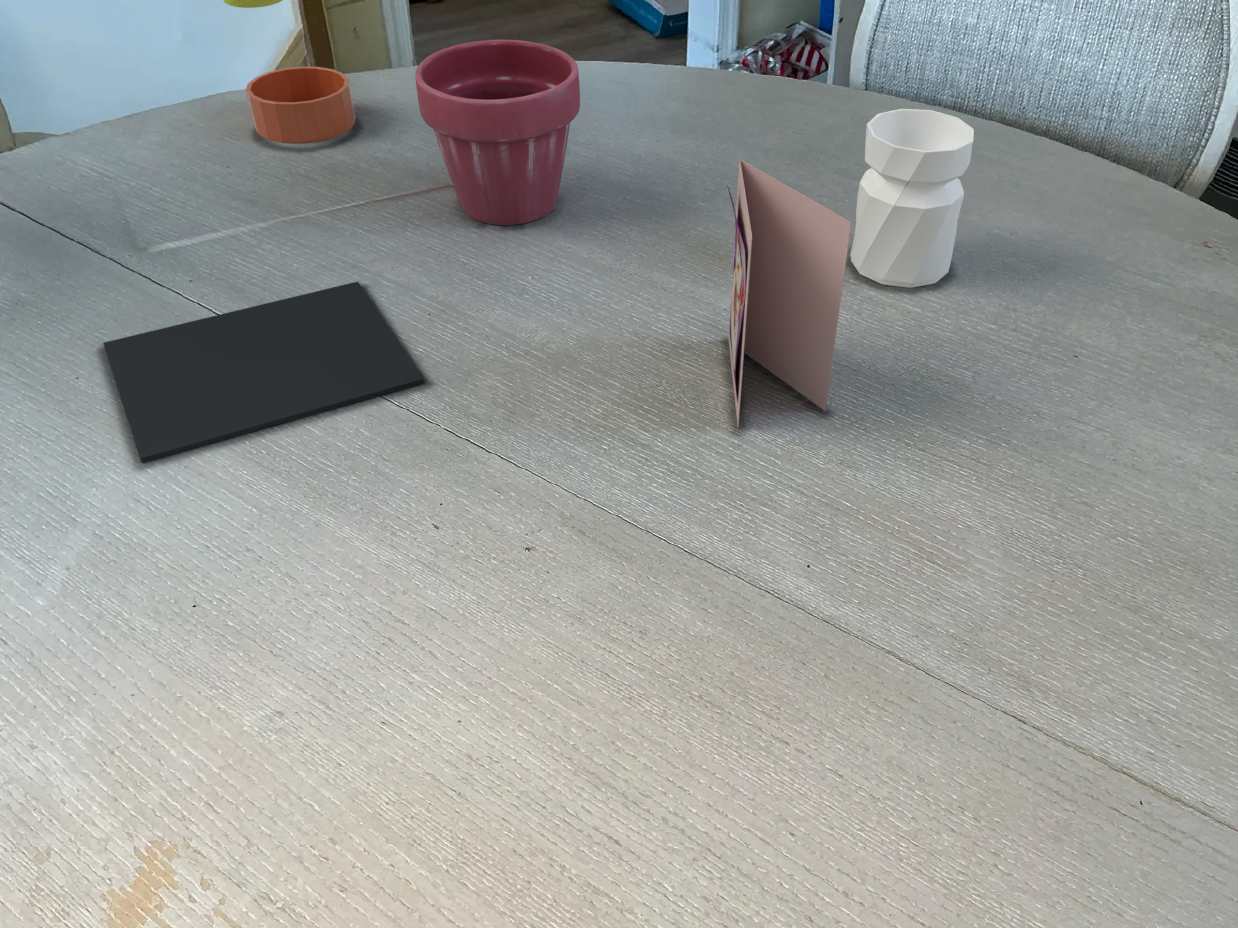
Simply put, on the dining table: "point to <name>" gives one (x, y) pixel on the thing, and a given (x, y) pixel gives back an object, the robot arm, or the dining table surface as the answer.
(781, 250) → the greeting card
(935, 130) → the vase
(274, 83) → the orange round bowl
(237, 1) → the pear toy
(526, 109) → the flower pot
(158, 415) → the mat
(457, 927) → the dining table surface
